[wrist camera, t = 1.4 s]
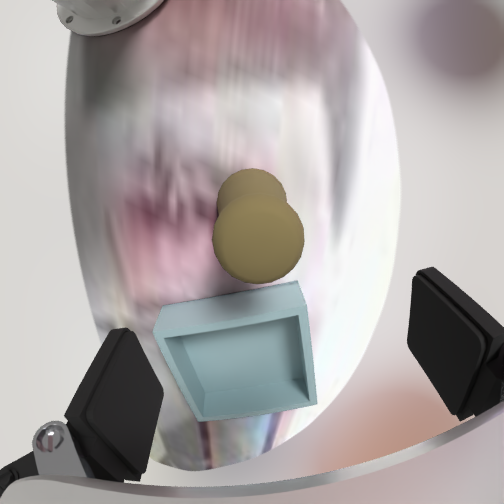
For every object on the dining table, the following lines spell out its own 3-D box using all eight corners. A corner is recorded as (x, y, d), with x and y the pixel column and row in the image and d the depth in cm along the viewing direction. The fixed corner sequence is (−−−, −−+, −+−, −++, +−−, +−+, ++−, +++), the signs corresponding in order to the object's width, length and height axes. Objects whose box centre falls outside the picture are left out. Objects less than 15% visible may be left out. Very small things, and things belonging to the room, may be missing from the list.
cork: (258, 249, 27) (269, 318, 17) (202, 210, 26) (179, 261, 16) (300, 196, 26) (340, 238, 15) (245, 154, 24) (249, 166, 14)
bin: (162, 305, 29) (152, 331, 25) (297, 280, 29) (306, 305, 24) (201, 394, 34) (198, 421, 30) (310, 376, 34) (317, 404, 30)
